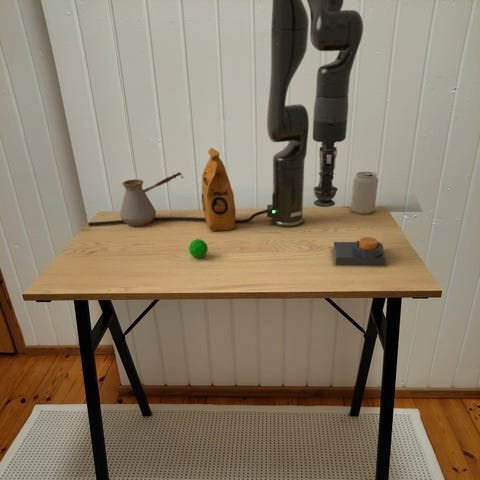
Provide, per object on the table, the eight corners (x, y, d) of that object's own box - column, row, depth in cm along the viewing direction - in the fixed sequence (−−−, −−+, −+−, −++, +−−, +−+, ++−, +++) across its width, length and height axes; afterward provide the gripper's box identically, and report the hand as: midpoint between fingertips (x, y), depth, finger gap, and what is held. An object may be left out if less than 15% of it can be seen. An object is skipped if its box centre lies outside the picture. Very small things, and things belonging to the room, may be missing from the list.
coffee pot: (118, 229, 142) (109, 181, 134) (123, 217, 152) (115, 171, 144) (187, 225, 143) (182, 177, 135) (187, 213, 153) (183, 167, 145)
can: (374, 215, 144) (379, 176, 138) (350, 214, 145) (354, 176, 139) (373, 207, 150) (378, 170, 144) (350, 206, 152) (354, 170, 145)
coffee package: (205, 233, 137) (198, 157, 125) (203, 219, 147) (197, 148, 135) (237, 230, 137) (234, 155, 126) (233, 216, 148) (230, 146, 136)
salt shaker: (339, 200, 114) (343, 151, 107) (332, 208, 110) (336, 157, 103) (316, 198, 116) (319, 149, 110) (309, 205, 112) (311, 155, 105)
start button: (359, 250, 113) (360, 243, 112) (358, 243, 117) (358, 237, 116) (377, 250, 113) (378, 244, 112) (375, 243, 117) (376, 237, 116)
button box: (335, 265, 115) (336, 251, 113) (333, 249, 123) (334, 235, 121) (384, 266, 113) (386, 251, 111) (378, 249, 122) (380, 235, 120)
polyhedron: (211, 258, 121) (209, 241, 119) (193, 262, 120) (192, 245, 117) (203, 251, 125) (202, 235, 123) (187, 255, 124) (185, 239, 121)
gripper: (313, 112, 109) (309, 182, 118) (313, 123, 97) (309, 201, 106) (345, 112, 108) (339, 183, 117) (349, 123, 96) (342, 201, 105)
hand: (325, 191), depth 111 cm, fingers closed on salt shaker, 6 cm apart
